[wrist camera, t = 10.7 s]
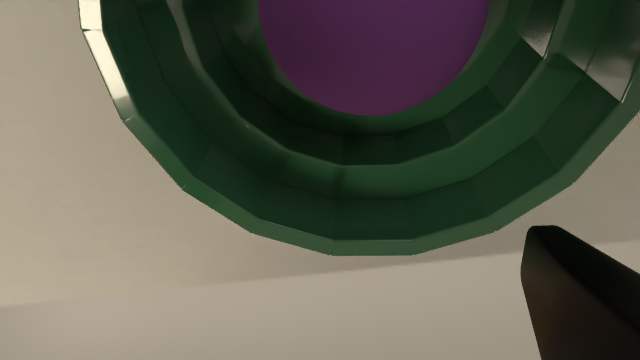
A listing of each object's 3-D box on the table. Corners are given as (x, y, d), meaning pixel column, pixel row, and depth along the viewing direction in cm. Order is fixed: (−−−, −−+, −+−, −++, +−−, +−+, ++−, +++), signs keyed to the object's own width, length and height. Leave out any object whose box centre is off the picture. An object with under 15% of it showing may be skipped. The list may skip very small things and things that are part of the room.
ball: (455, 71, 18) (501, 150, 13) (279, 77, 18) (254, 156, 13) (472, -135, 15) (542, -141, 10) (262, -123, 15) (220, -124, 10)
